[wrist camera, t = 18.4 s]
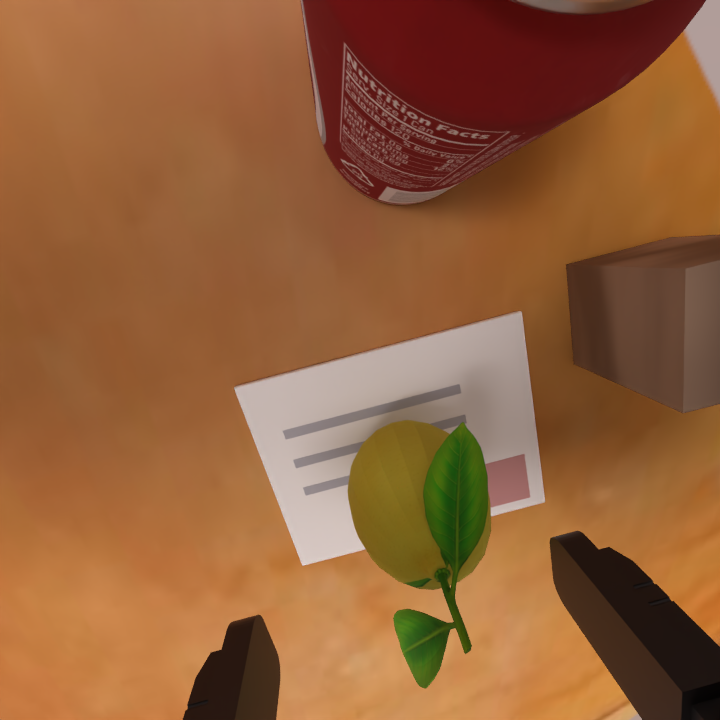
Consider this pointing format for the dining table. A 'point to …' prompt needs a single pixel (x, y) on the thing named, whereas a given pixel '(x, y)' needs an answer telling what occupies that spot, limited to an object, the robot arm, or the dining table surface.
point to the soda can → (466, 79)
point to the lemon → (422, 523)
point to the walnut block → (651, 319)
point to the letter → (392, 404)
